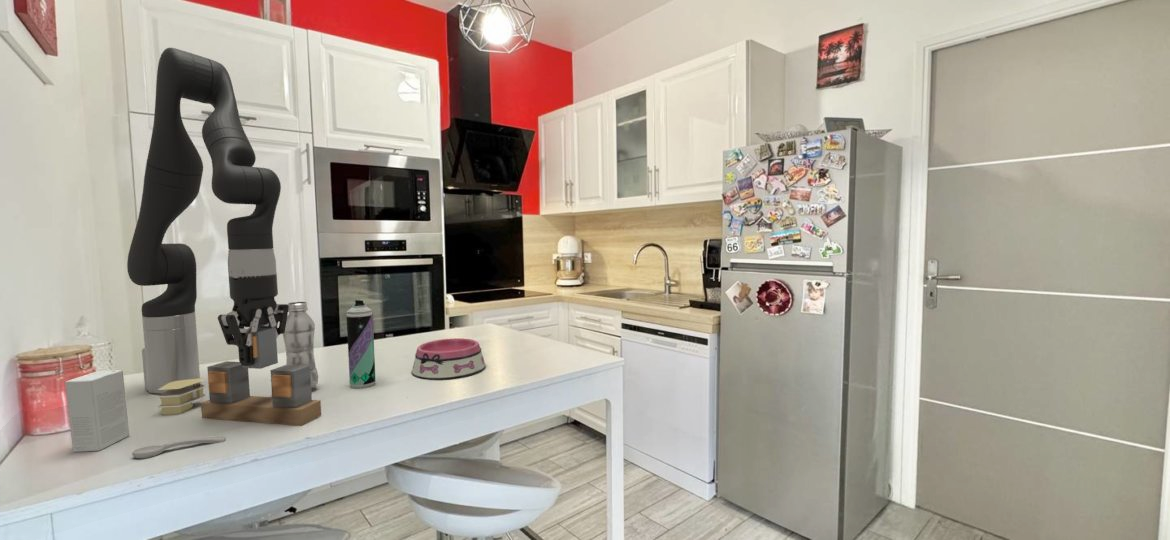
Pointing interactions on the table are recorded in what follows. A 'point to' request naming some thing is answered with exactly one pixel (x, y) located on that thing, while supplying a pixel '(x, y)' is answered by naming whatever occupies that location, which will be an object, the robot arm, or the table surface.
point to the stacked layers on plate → (180, 395)
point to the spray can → (360, 345)
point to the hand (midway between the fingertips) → (258, 361)
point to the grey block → (264, 348)
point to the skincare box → (97, 410)
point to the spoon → (157, 449)
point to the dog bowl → (448, 359)
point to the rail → (236, 403)
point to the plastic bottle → (300, 339)
